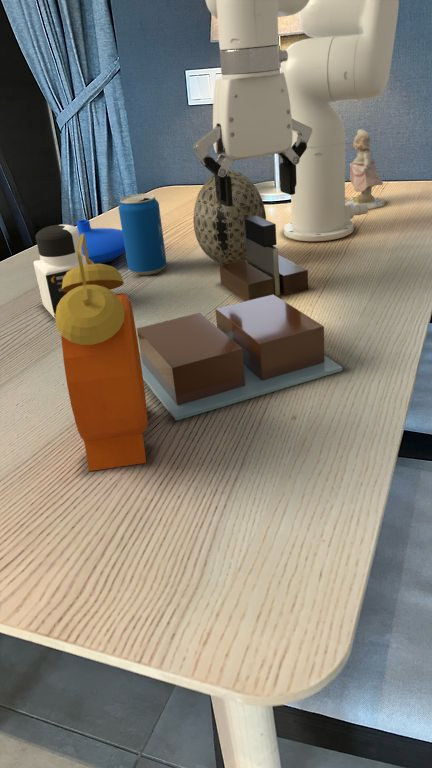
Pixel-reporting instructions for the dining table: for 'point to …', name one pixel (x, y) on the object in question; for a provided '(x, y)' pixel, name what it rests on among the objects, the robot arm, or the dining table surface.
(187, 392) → the cake
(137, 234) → the beverage can
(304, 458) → the dining table surface
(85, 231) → the vase
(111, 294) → the alarm clock
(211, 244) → the decorative egg
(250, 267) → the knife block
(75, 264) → the medicine bottle
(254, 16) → the robot arm
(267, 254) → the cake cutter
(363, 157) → the figurine
